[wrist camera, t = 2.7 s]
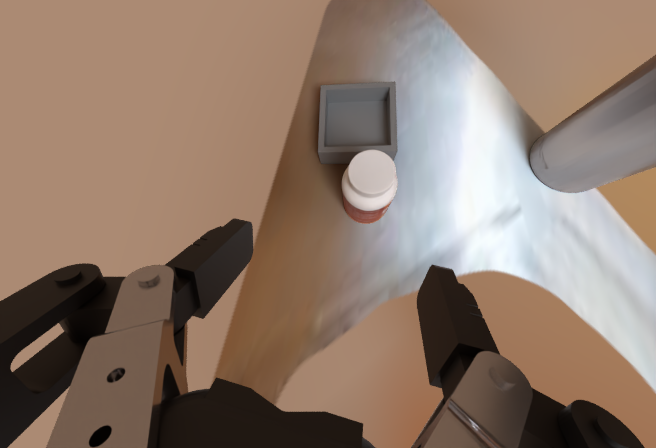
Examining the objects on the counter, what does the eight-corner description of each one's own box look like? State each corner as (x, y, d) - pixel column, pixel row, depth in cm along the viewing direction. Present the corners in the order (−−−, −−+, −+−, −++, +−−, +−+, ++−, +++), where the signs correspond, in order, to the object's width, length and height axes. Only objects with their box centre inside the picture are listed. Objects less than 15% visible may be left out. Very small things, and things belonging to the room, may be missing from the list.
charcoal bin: (391, 99, 36) (395, 81, 33) (392, 162, 34) (397, 150, 31) (323, 102, 38) (320, 85, 34) (321, 163, 35) (317, 152, 32)
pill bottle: (386, 225, 33) (404, 203, 22) (342, 223, 33) (338, 200, 22) (387, 183, 34) (404, 142, 23) (345, 182, 34) (342, 141, 24)
